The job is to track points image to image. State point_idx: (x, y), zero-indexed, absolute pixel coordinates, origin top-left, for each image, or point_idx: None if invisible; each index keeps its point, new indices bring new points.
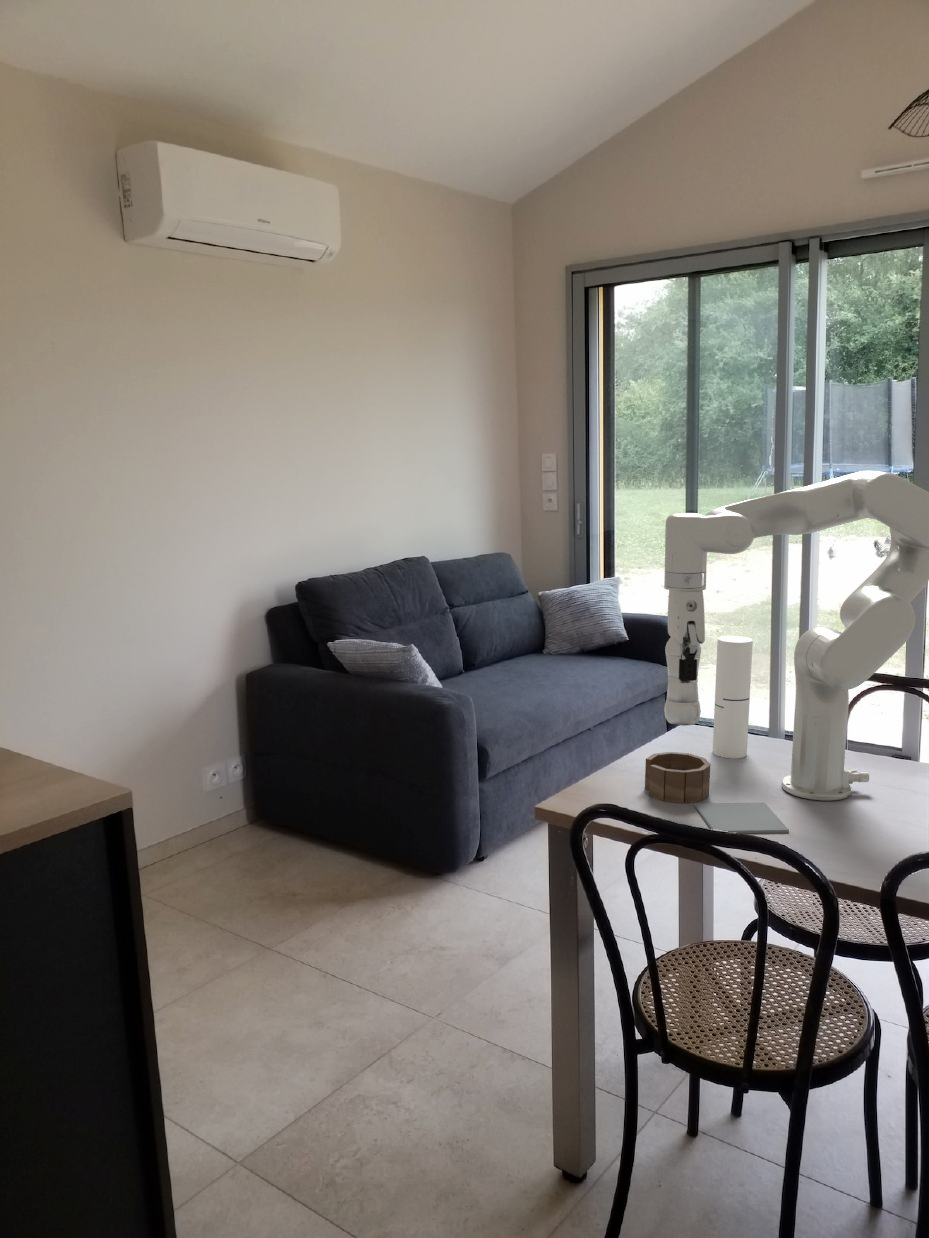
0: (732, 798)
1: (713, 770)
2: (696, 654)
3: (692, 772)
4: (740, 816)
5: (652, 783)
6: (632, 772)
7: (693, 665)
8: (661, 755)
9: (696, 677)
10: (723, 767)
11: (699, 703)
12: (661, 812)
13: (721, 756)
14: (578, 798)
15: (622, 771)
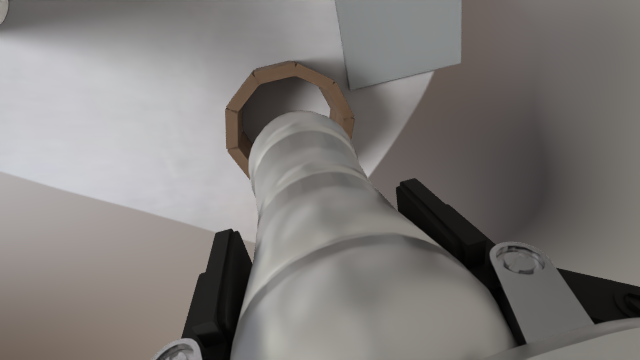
0: (300, 13)
1: (131, 41)
2: (554, 271)
3: (346, 103)
4: (403, 9)
5: None
6: (206, 194)
7: (482, 234)
8: None
9: (417, 181)
10: (97, 14)
11: (310, 123)
12: (380, 140)
13: (6, 11)
14: None
15: (206, 209)
